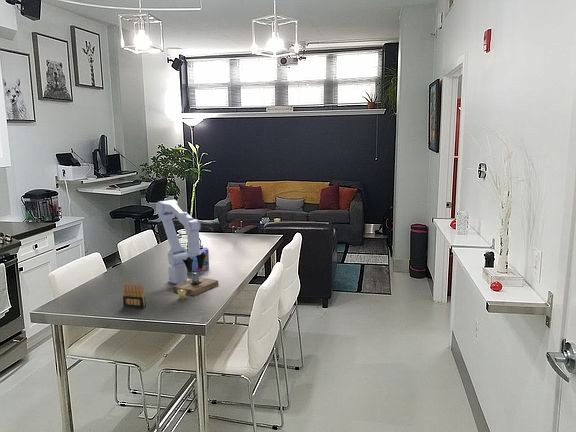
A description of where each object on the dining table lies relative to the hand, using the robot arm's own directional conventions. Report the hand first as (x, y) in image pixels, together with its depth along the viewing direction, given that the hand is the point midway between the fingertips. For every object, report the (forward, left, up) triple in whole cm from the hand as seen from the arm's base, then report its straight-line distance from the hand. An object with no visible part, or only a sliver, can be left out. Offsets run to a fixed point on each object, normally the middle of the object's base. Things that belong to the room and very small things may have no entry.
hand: (195, 270), depth 234 cm
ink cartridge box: (-21, +26, -10) cm, 35 cm away
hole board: (0, 0, -9) cm, 9 cm away
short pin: (+5, -15, -9) cm, 18 cm away
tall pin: (0, 0, -9) cm, 9 cm away
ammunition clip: (-7, -33, -10) cm, 35 cm away
